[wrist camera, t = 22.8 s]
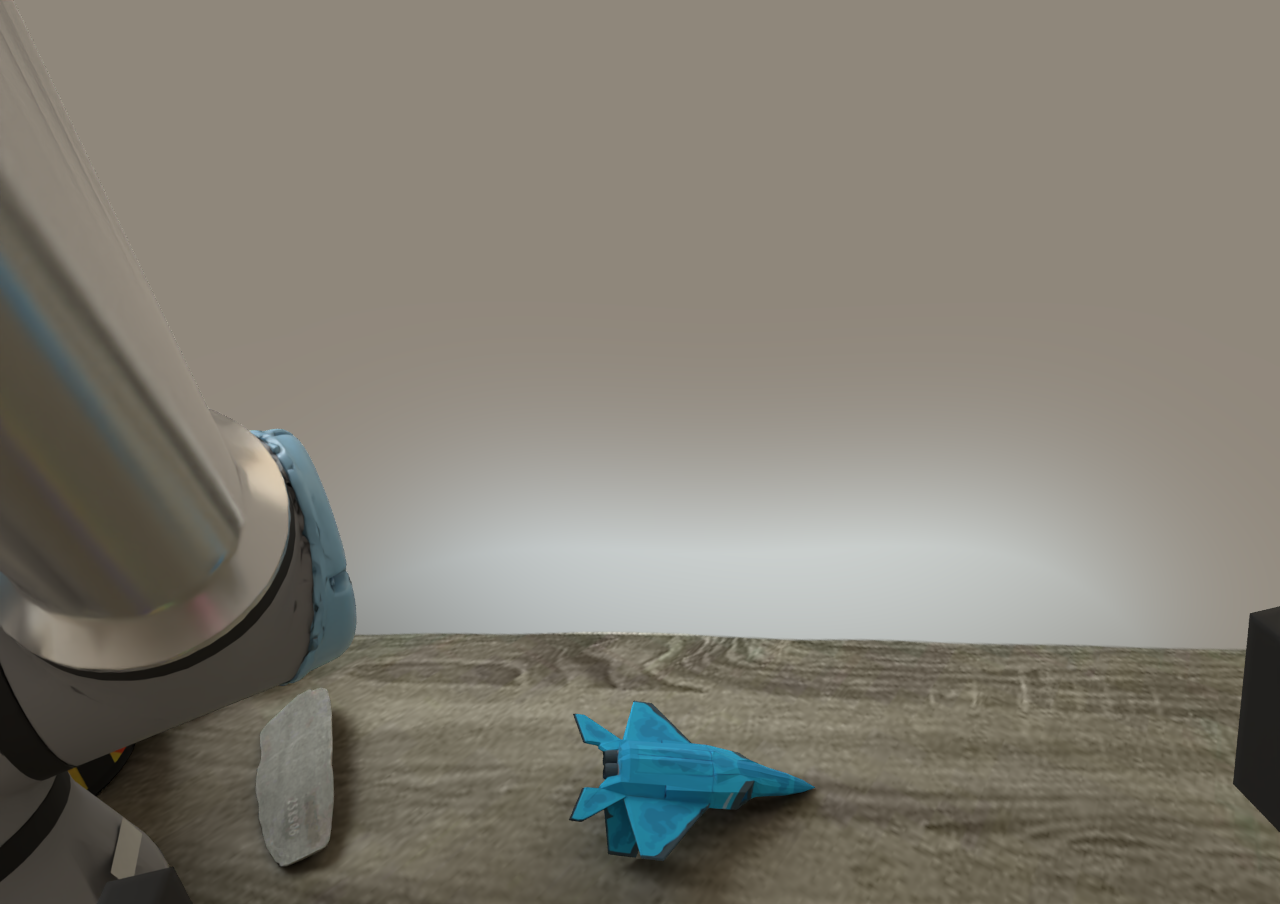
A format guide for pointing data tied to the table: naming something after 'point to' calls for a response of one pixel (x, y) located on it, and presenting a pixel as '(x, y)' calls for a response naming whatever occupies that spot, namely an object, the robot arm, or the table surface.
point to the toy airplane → (666, 783)
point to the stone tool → (297, 778)
